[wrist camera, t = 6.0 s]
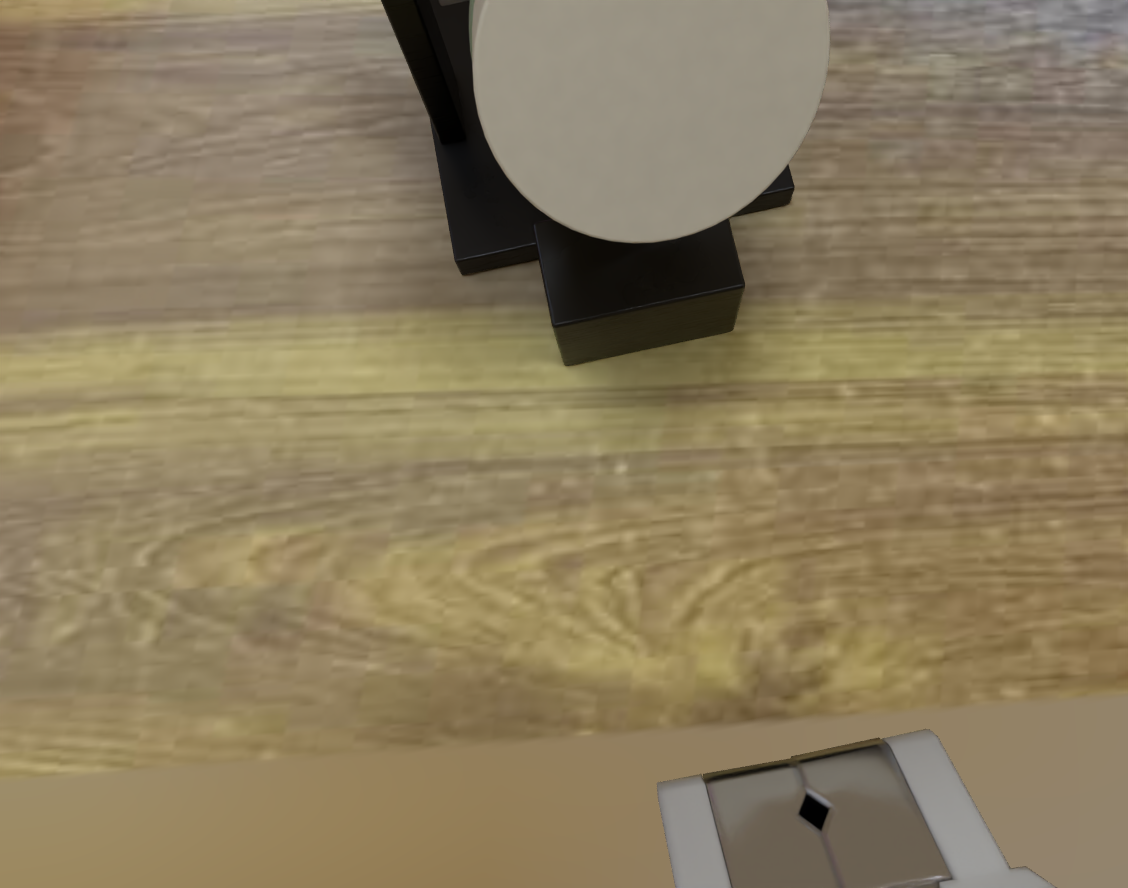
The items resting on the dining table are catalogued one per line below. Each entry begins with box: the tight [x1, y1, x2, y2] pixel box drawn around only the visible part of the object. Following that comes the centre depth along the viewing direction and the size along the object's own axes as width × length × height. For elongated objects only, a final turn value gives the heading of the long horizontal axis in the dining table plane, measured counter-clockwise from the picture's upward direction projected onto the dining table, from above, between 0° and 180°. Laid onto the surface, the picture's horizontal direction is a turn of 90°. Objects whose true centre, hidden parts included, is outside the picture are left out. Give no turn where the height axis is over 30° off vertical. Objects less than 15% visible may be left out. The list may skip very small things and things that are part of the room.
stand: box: [381, 0, 795, 366], centre depth 24 cm, size 14×10×8 cm
